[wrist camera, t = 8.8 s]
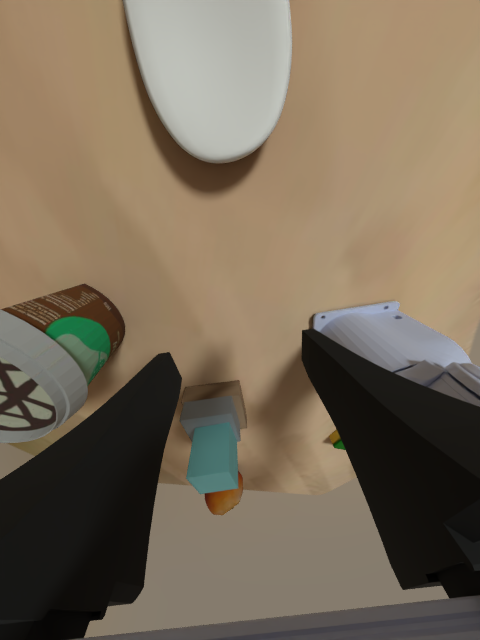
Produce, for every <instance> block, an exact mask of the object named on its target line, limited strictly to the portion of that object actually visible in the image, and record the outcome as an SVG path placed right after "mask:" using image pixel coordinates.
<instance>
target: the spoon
mask: <svg viewBox="0 0 480 640" xmlns="http://www.w3.org/2000/svg"><path fill="white" fill-rule="evenodd" d="M123 4H124V9H125V14H126V19H127V24H128V28H129V32H130V37H131V41H132V45H133V49H134V52H135V56H136V60H137V63H138V67H139V70H140V74H141V77H142V80H143V83H144V86H145V88H146V91H147V93H148V96H149V98H150V101H151V103H152V105H153V107H154V109H155V111H156V113H157V115H158V116H159V118H160V120H161V122H162V123H163V125H164V126H165V128H166V129H167V131H168V132H169V134H170V135H171V136H172V138H173V139H174V140H175V141H176V142H177V144H178V145H179V146H180V147H181V148H182V149H184V150H185V151H186V152H187V153H189V154H190V155H192V156H193V157H195V158H197V159H200V160H202V161H206V162H210V163H229V162H233V161H236V160H239V159H242V158H244V157H246V156H248V155H249V154H251V153H252V152H254V151H255V150H256V149H258V148H259V147H260V146H261V145H262V144H263V143H264V142H265V141H266V140H267V138H268V137H269V136H270V134H271V133H272V131H273V130H274V128H275V126H276V124H277V122H278V120H279V118H280V115H281V112H282V110H283V106H284V102H285V99H286V94H287V90H288V84H289V78H290V69H291V57H292V29H291V15H290V5H289V0H123Z"/></svg>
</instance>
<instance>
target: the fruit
mask: <svg viewBox="0 0 480 640" xmlns="http://www.w3.org/2000/svg"><path fill="white" fill-rule="evenodd" d="M242 491H243V479H242V475H241V474H240V473H239V471H238V489H231V490H224V491H217V492H211V493H205V501H206V504H207V506H208V508H209V510H210V511H211V512H212V513H213V514H214V515H224V514H225V513H226V512H228V511H229V510H231V509H233V508H234V506H235V505H237V504H238V503H239V502H240V499H241V496H242Z"/></svg>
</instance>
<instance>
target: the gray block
mask: <svg viewBox="0 0 480 640" xmlns="http://www.w3.org/2000/svg"><path fill="white" fill-rule="evenodd" d="M180 422H181V424H182V426H183V427H184V429H185V431H186V433H187V434H188V436H189V438H190V439H191V441H192V442H193V436H194V430H195V428H199V427H204V426H210V425H216V424H222V423H227V422H229V423H230V425H231V428H232V430H233V432H234V435H235V437H236V440H237V442H238V441H240V422H239V419H238V415H237V412H236V409H235V405H234V402H233V399H232V395H231V396H224V397H217V398H212V399H204V400H197V401H190V402H184V406H183V409H182V413H181V417H180Z"/></svg>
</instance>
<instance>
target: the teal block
mask: <svg viewBox="0 0 480 640" xmlns="http://www.w3.org/2000/svg"><path fill="white" fill-rule="evenodd" d="M186 479H187V480H188V481H189V482H190V483H191V484H192V485H193V487H195V489H196V490H197V491H198V492H199V493H200V494H204V493H211V492H217V491H224V490H231V489H238V460H237V440H236V437H235V435H234V432H233V430H232V428H231V425H230V423H229V422H227V423H222V424H216V425H210V426H204V427H199V428H195V430H194V436H193V442H192V447H191V453H190V459H189V465H188V471H187V477H186Z"/></svg>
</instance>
